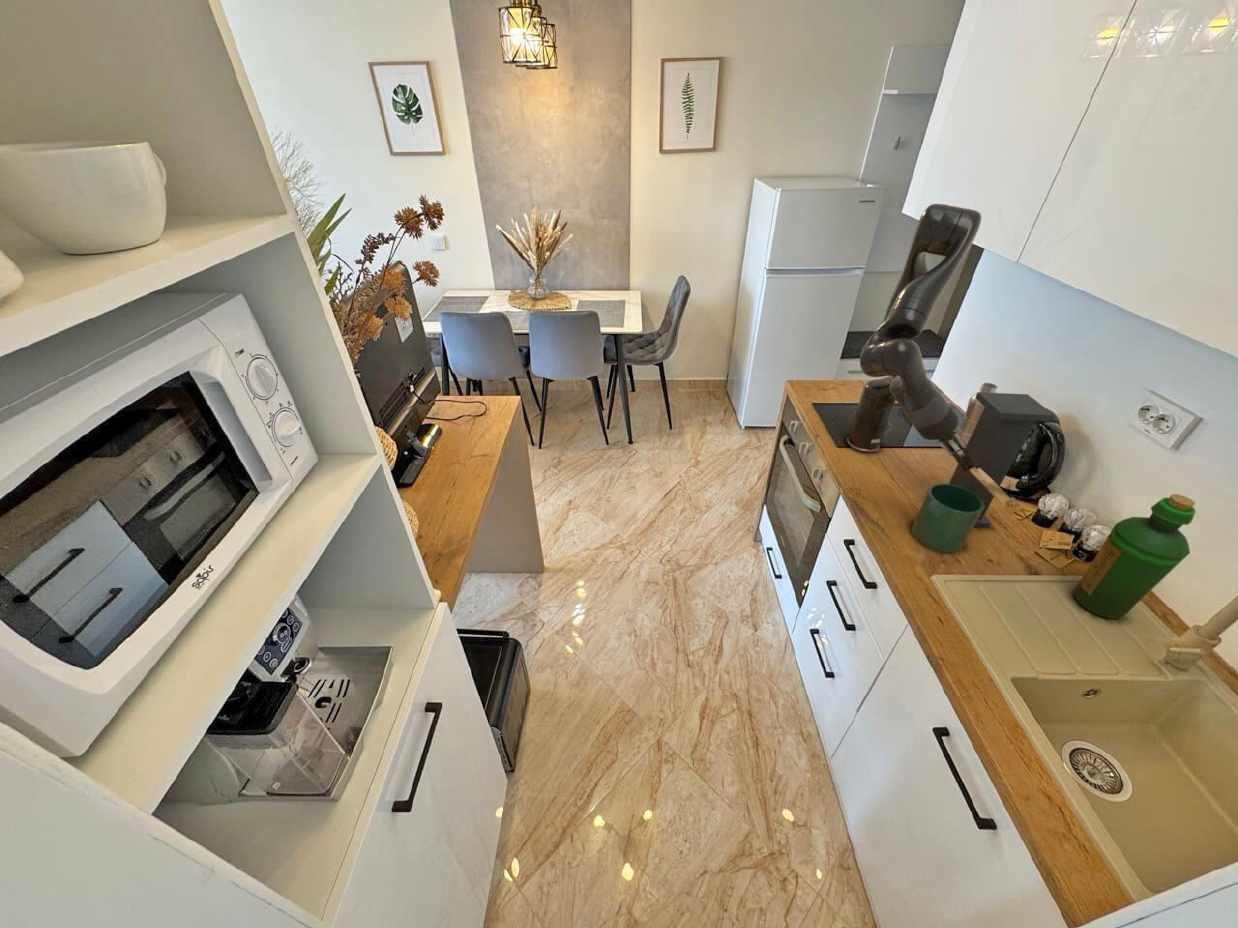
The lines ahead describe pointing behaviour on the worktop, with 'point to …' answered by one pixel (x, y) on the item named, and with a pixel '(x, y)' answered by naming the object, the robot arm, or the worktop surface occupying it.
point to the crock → (947, 517)
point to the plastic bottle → (973, 414)
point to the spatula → (989, 484)
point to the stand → (998, 441)
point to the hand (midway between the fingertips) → (966, 464)
